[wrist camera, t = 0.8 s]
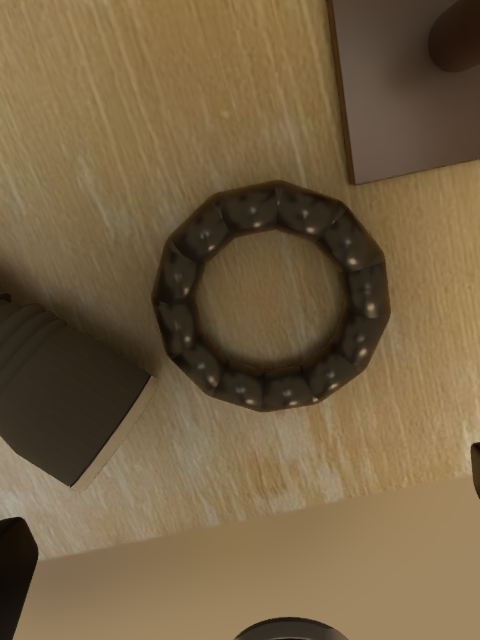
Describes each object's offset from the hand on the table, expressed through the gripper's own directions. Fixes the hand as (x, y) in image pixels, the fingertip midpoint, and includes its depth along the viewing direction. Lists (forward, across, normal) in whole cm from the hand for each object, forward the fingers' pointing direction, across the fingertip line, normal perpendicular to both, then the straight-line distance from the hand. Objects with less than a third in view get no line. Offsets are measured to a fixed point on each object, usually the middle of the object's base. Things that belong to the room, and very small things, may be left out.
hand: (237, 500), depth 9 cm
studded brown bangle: (+11, -1, 0) cm, 11 cm away
